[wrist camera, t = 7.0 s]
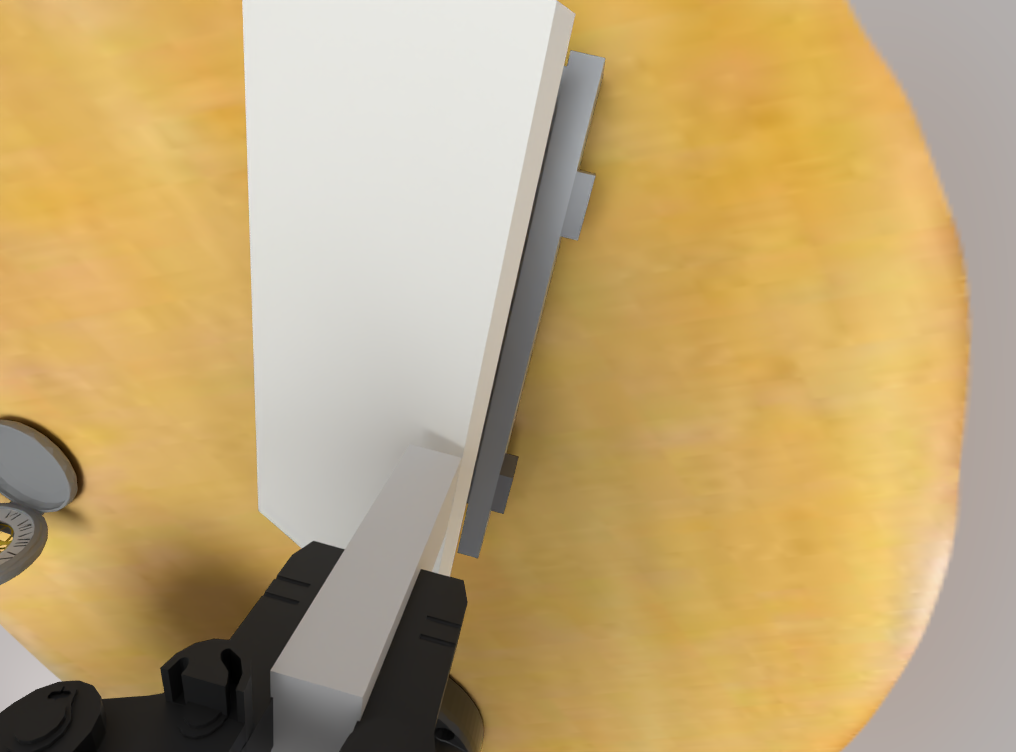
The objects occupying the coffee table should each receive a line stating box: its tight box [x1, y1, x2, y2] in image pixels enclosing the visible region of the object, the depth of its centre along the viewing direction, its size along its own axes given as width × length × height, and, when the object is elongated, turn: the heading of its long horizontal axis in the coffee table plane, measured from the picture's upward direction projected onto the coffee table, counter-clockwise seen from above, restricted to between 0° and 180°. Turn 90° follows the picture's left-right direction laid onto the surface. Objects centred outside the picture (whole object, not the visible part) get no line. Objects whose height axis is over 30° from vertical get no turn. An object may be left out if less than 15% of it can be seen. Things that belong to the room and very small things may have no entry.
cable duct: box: [457, 50, 605, 558], centre depth 20 cm, size 20×11×4 cm, turn 168°
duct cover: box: [242, 0, 575, 577], centre depth 16 cm, size 20×10×1 cm, turn 168°
